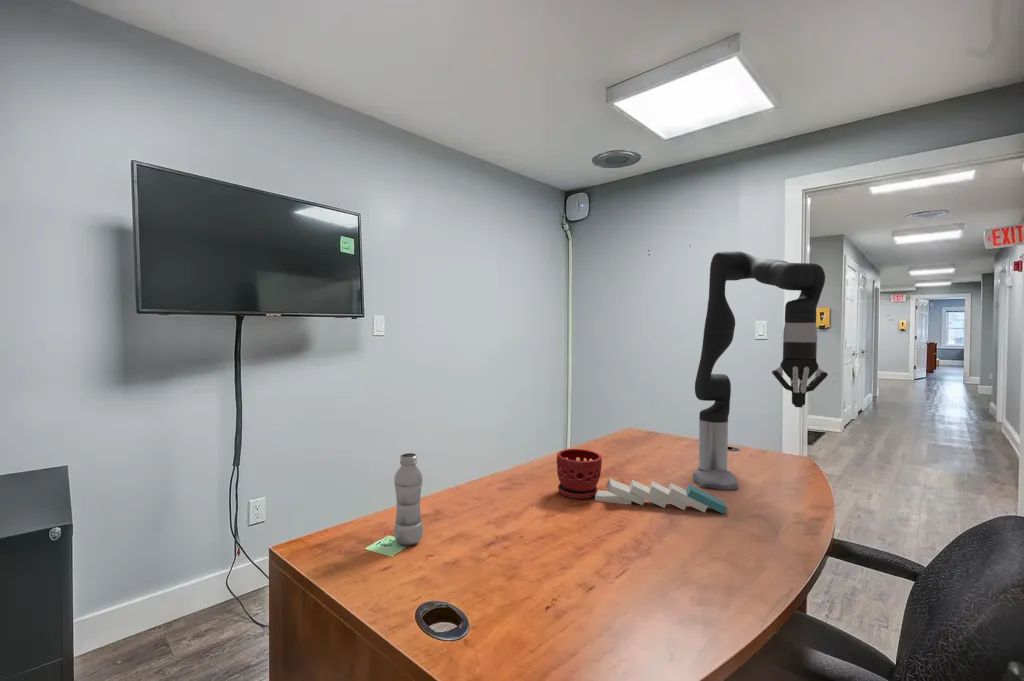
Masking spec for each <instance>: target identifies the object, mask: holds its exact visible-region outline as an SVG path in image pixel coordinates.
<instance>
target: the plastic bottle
mask: <svg viewBox="0 0 1024 681" xmlns="http://www.w3.org/2000/svg"><path fill="white" fill-rule="evenodd" d="M399 458H400V460H399V465H400V467H399V468H398V469H397V471H396V472H395V474H394V477H393V478H394V479H393V480H394V492H395V497H396V514H395V515H396V517H395V523H394V529H393V530H394V531H393V534H394V535H393V536H394V539H395V541H396V543H397V544H399V545H401V546H411V545H416V544H417V543H419V542H420V541H421V539H423V538H422V537H423V532H424V528H423V526H424V525H423V521H422V514H421V513H422V512H421V497H422V496H421V495H422V486H423V474H422V472H421V470H420V469H419V467H417V464H418V459H417V454H416V453H411V452H407V453H402V454H400V457H399Z"/></svg>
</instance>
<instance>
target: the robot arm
mask: <svg viewBox="0 0 1024 681" xmlns="http://www.w3.org/2000/svg"><path fill="white" fill-rule="evenodd" d="M746 279H747V280H748V279H750V280H751V279H755V281H757V282H759V283H761V284H764V285H769V286H774V287H777V288H779V289H782V290H784V291H785V290H786V291H800V294H799V297H797V299H793V300H789V301H787V302H786V303H785V307H784V326H783V332H782V334H783V336H782V340H783V341H782V360H781V362H780V364H779V365H780V366H778V368H776V369H773V370H772V371H771V374H772V375H773V377H775V379H776V380H777V381H778V382H779V383H780V385H781V386H782V388H784V390H786V391H790V392H791V404H792V405H793V406H794V407H795V408H803V406H805V405H806V394H807V393H809V392H813V391H814V390H816V389H817V387H818V386H819V385H820V384H821V383H822V382H823V381H824V380H825V379H826V378H827V377H828V376H829V375H828V372H826V371H823V370H822V369H821V368H820V366H819V364H818V361H817V350H818V349H817V348H818V347H817V346H818V330H817V307H818V304H819V301H820V298H821V294H822V292H823V289H824V285H825V283H826V282H825V281H826V274H825V271H824V269H823V267H822V266H821V265H820V264H818V263H811V262H810V263H808V262H807V263H805V262H802V263H801V262H788V261H784V260H779V259H769V258H759V257H756V256H754V255H751V254H749V253H746V252H744V251H743V252H742V251H737V250H736V251H718V252H716V253H714V254H713V257H712V258H711V262H710V267H709V285H708V286H709V287H708V301H707V309H706V317H705V321H704V327H703V337H702V346H701V353H700V359H699V363H698V366H697V367H698V368H697V372H696V377H695V382H694V393H695V398H697V399H698V400H699V401H703V402H706V401H708V402H710V401H711V402H714V403H713V404H712V405H711V406H709V407H707V408H705V409H702V410H700V411H699V416H698V417H699V419H698V420H699V424H698V470H701V471H706V472H709V471H712V470H719V469H724V470H728V445H729V444H728V440H729V438H728V437H729V434H728V433H729V415H730V408H731V407H730V406H731V395H732V394H731V392H732V383H731V380H730V378H729V376H728V375H726V374H723V373H716V374H715V373H713V370H714V366H715V364H716V363H717V361H718V359H720V358H721V356H722V355H723V354H724V353H725V352H726V351H727V349H729V346H730V345H732V342H733V339H734V333H735V329H736V318H735V316H734V313H733V310H732V309H731V307H730V305H729V302H728V301H727V297H726V282H727V281H728V282H729V281H741V280H746ZM784 373H785V375H786V376H787V378H789V379H790V380H789V381H790V384H789V383H788V382H787V380H786V379H785V378H784V377H783V375H784ZM813 375H814V378H813V379H812V380H811V381H810V382H809V381H808V380H809V379H810V378H811V377H812V376H813ZM808 382H809V383H808Z"/></svg>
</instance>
